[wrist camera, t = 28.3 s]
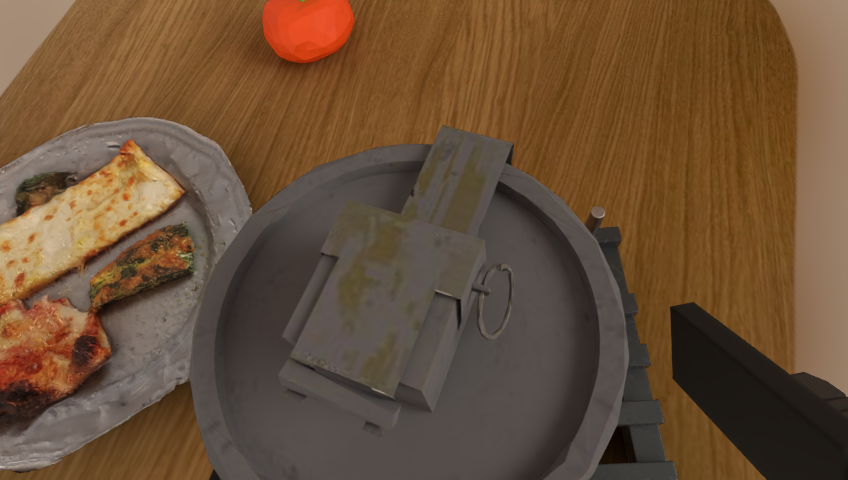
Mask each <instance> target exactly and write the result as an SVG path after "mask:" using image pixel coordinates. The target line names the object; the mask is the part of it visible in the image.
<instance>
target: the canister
mask: <svg viewBox="0 0 848 480" xmlns="http://www.w3.org/2000/svg"><path fill="white" fill-rule="evenodd" d="M513 148H514V143H510V142H506V141H502V140H499V139H495V138H491V137H487V136H483V135H479V134H475V133H471V132H467V131H463V130H459V129H455V128H451V127H447V126H443V125H442V127H441V129H440V131H439V133H438V135H437V137H436V139H435V142H434V144H433V145H430V144H400V145H392V146H383V147H376V148H373V149H370V150H367V151H363V152H360V153H357V154H354V155H351V156H348V157H344V158H341V159H338V160H335V161H332V162H328V163H325V164H322V165H319V166H317V167H315V168H314V169H312V170H311V171H309V172H307V173H306V174H304V175H303V176H301V177H300V178H298V179H296V180H295V181H293V182H292V183H291V184H289V185H288V186H286V187H285V188H284V189H282V190H281V191H279V192H278V193H277V194H276V195H275V196H273V197H272V198H271V199H270V200H269V201H268V202H266V203H265V204H264V205H263V206H262V207H261V208H260V209H258V210H257V211H256V212H255V213H254V214H253V215H252V216H250V217H249V219H248V220H247V222H246V223H245V224H244V226H243V227H242V229H241V230H240V231H239V233H238V234H237V236H236V237H235V238H234V240H233V241H232V243H231V244H230V245H229V247H228V248H227V250H226V251H225V252H224V254H223V255H222V257H221V258H220V259H219V261H218V262H217V264H216V265H215V268H214V270H213V272H212V274H211V277H210V279H209V281H208V284H207V286H206V289H205V292H204V295H203V298H202V302H201V305H200V308H199V312H198V315H197V319H196V322H195V325H194V329H193V337H192V347H191V357H190V368H189V377H190V383H191V390H192V397H193V403H194V410H195V414H196V418H197V422H198V426H199V430H200V434H201V437H202V440H203V443H204V446H205V449H206V453H207V456H208V459H209V462H210V464H211V465H212V467H213V468H214V470H215V471H216V473H217V474H218V476H219V477H220V479H221V480H589V479H590V478H591V476H592V475H593V474H594V472H595V470H596V468H597V466H598V463H599V461H600V459H601V457H602V455H603V453H604V451H605V449H606V447H607V445H608V443H609V441H610V439H611V437H612V435H613V433H614V430H615V428H616V426H617V424H618V420H619V415H620V409H621V403H622V397H623V391H624V385H625V379H626V373H627V368H628V362H629V350H628V341H627V333H626V324H625V316H624V311H623V305H622V300H621V295H620V289H619V287H618V285H617V283H616V281H615V278H614V276H613V274H612V272H611V270H610V268H609V265H608V263H607V261H606V259H605V257H604V255H603V252H602V250H601V248H600V246H599V244H598V242H597V240H596V239H595V237H594V236H593V235H592V234H591V233H590V231H589V230H588V229H587V228H586V227H585V225H584V224H583V223H582V222H581V221H580V219H579V218H578V217H577V216H576V215H575V214H574V212H573V211H572V210H571V209H570V208H569V206H568V205H567V204H566V203H565V202H564V200H563V199H562V198H560V197H559V196H557V195H556V194H555V193H553V192H552V191H551V190H549V189H548V188H547V187H545V186H544V185H543V184H541V183H540V182H539V181H537V180H536V179H535V178H533V177H532V176H530V175H528V174H527V173H525V172H523V171H521V170H519V169H517V168H515V167H513V166H511V165H512V157H513Z"/></svg>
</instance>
